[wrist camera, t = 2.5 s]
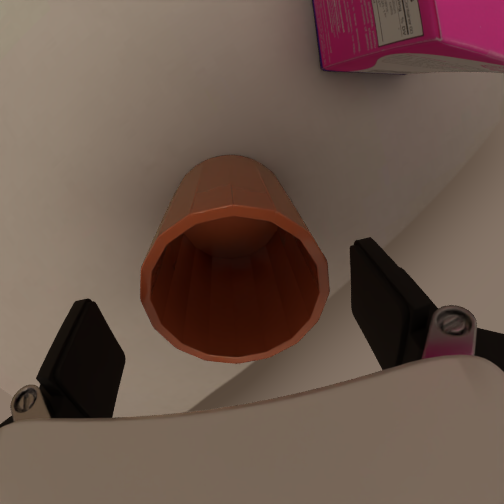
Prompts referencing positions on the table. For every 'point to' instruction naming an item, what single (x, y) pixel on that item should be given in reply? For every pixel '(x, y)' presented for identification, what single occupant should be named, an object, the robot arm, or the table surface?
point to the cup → (233, 265)
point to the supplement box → (410, 35)
